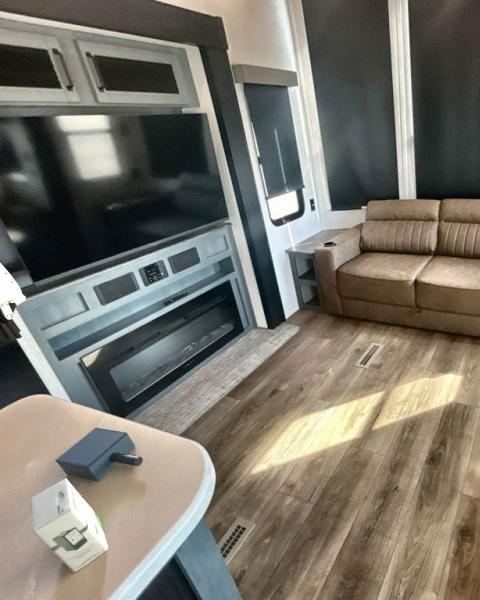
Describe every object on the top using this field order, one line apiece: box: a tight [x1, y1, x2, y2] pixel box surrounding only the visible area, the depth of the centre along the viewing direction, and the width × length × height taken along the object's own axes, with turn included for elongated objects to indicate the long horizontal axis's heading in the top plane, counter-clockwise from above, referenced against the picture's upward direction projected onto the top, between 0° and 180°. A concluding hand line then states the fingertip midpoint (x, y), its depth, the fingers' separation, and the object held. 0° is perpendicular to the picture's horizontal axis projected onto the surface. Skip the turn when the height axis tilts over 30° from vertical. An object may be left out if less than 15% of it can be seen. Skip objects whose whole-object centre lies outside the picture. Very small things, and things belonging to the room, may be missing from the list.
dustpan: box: [54, 427, 144, 482], centre depth 77 cm, size 16×9×4 cm, turn 75°
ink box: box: [30, 477, 109, 573], centre depth 60 cm, size 9×5×12 cm, turn 45°
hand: (12, 339), depth 71 cm, fingers closed
